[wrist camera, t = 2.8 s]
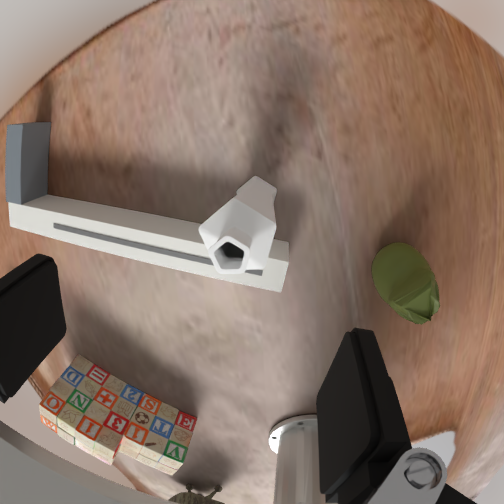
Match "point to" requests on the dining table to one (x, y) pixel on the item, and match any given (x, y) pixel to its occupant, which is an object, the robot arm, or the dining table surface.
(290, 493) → the robot arm
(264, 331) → the dining table surface
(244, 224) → the white faceted vase
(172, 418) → the stack of blocks
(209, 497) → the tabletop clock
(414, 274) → the pear
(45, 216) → the guide fence
